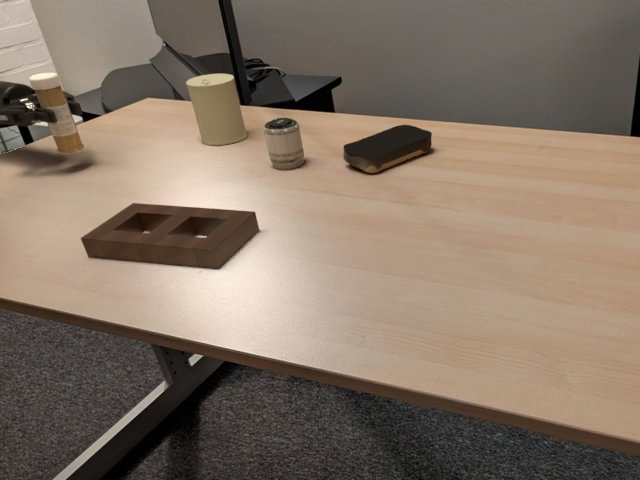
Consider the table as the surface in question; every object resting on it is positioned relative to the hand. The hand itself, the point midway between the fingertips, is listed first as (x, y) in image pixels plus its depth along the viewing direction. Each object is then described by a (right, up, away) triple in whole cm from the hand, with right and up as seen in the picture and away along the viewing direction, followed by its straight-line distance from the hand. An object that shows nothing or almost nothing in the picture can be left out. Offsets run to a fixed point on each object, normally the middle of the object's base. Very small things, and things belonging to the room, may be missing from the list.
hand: (66, 112), depth 116 cm
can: (+22, +1, +18) cm, 28 cm away
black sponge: (+57, -7, +4) cm, 58 cm away
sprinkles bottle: (-2, -5, +5) cm, 8 cm away
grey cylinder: (+39, -8, +4) cm, 40 cm away
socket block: (+28, -26, -20) cm, 43 cm away
